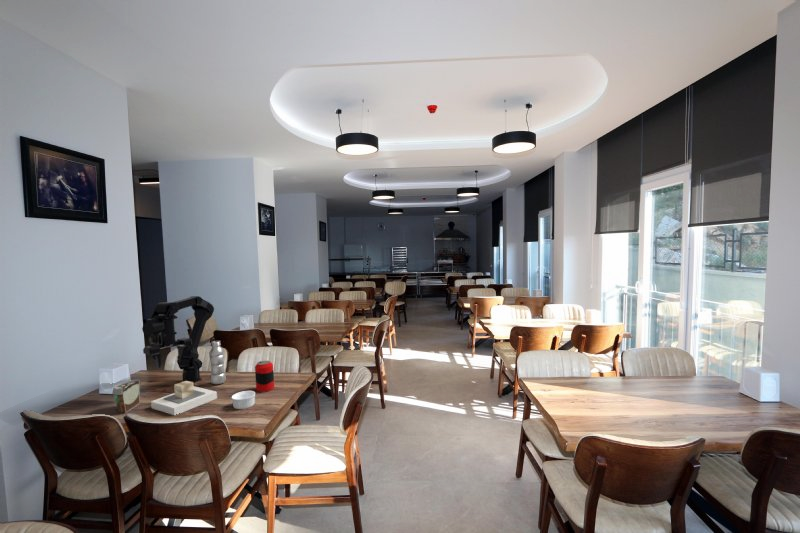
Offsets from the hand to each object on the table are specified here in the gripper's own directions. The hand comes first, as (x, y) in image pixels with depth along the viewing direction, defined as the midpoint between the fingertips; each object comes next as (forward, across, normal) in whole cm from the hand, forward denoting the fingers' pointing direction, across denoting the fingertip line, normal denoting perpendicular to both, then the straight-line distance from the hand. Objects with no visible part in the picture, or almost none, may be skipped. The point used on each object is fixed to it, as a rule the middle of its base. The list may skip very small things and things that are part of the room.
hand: (169, 364), depth 173 cm
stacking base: (+12, +6, +20) cm, 24 cm away
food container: (+12, +20, +2) cm, 24 cm away
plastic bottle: (+12, -15, +12) cm, 23 cm away
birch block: (+9, +6, +20) cm, 23 cm away
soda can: (+12, -19, +39) cm, 45 cm away
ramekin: (+12, -3, +45) cm, 47 cm away
